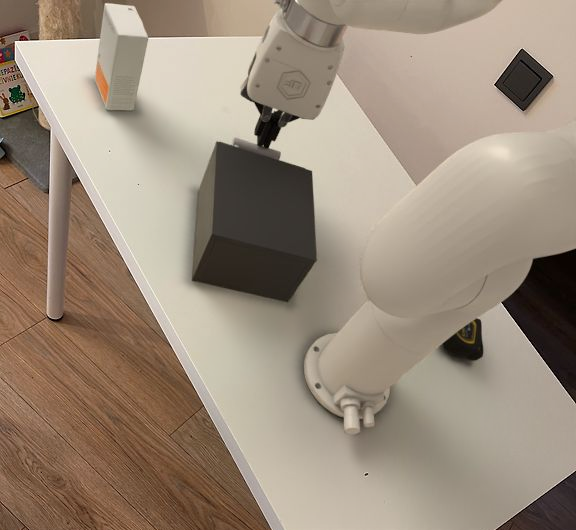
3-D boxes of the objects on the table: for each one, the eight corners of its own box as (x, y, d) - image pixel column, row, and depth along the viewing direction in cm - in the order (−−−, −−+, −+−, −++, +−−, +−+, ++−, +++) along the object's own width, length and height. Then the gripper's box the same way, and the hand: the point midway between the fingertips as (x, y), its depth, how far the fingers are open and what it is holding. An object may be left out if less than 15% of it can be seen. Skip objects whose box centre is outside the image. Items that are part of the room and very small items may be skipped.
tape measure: (472, 367, 91) (488, 355, 88) (434, 353, 89) (449, 340, 86) (470, 331, 94) (486, 318, 91) (434, 316, 92) (448, 303, 89)
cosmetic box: (92, 80, 86) (103, 1, 77) (121, 81, 89) (135, 4, 79) (105, 111, 85) (118, 34, 75) (134, 112, 87) (150, 37, 77)
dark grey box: (205, 158, 87) (220, 115, 81) (283, 182, 91) (304, 143, 85) (198, 263, 78) (215, 225, 72) (286, 284, 82) (309, 249, 76)
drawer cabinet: (197, 192, 85) (216, 140, 77) (285, 217, 89) (312, 170, 82) (191, 280, 77) (211, 233, 70) (287, 302, 82) (317, 260, 74)
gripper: (255, 13, 65) (210, 143, 80) (374, 59, 70) (311, 174, 85) (255, -25, 69) (212, 106, 84) (368, 22, 74) (309, 138, 89)
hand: (262, 140), depth 85 cm, fingers closed
